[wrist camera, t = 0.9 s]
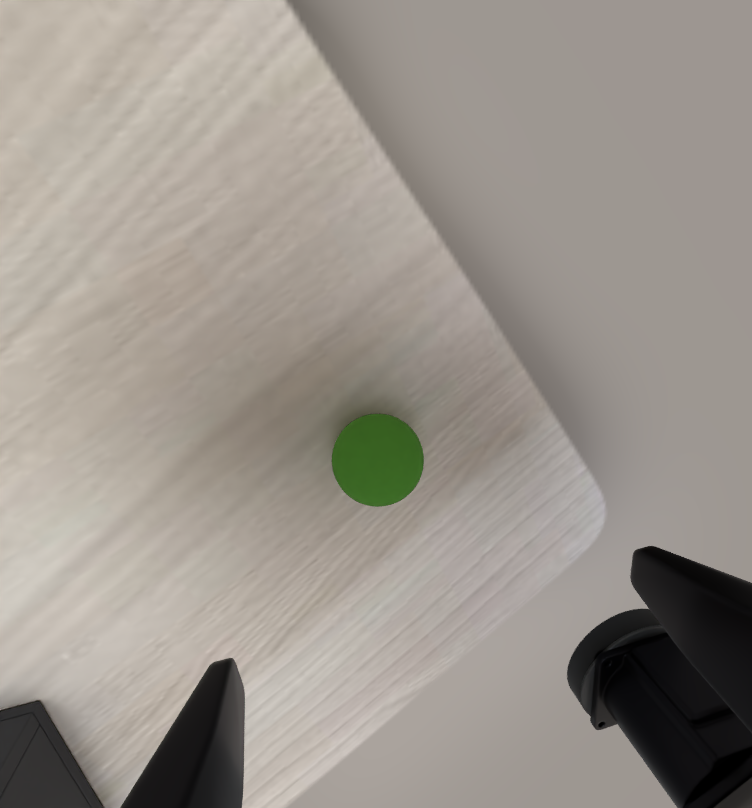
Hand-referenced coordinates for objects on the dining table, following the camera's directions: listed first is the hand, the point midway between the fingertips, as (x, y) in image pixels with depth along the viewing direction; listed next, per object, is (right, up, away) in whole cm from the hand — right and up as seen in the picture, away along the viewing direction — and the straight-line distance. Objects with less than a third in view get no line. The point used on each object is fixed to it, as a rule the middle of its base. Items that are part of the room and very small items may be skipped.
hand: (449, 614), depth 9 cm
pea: (-2, +3, +8) cm, 9 cm away
